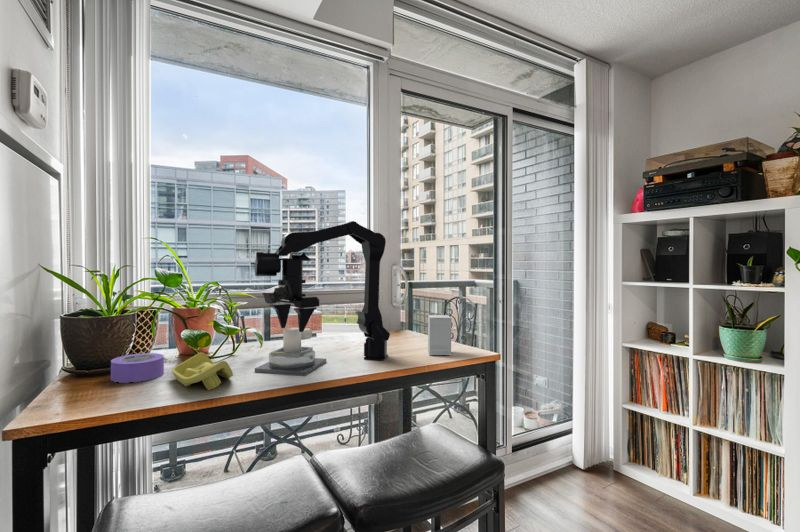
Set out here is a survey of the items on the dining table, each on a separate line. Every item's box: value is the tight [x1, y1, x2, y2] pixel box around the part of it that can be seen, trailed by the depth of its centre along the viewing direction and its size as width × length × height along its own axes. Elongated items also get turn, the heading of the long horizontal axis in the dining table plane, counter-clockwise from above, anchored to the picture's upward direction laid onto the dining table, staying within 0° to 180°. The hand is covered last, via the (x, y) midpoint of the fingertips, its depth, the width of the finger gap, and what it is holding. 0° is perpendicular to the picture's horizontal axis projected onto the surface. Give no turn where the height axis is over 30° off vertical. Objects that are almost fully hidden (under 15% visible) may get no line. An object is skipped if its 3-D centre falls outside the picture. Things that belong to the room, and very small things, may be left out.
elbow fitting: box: [282, 327, 313, 353], centre depth 119 cm, size 8×5×7 cm, turn 138°
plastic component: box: [171, 352, 234, 391], centre depth 102 cm, size 20×7×10 cm
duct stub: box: [254, 346, 327, 376], centre depth 118 cm, size 15×15×5 cm
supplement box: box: [427, 314, 452, 356], centre depth 136 cm, size 7×7×13 cm
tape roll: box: [110, 352, 165, 384], centre depth 107 cm, size 12×12×5 cm
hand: (292, 329), depth 118 cm, fingers open, 9 cm apart
